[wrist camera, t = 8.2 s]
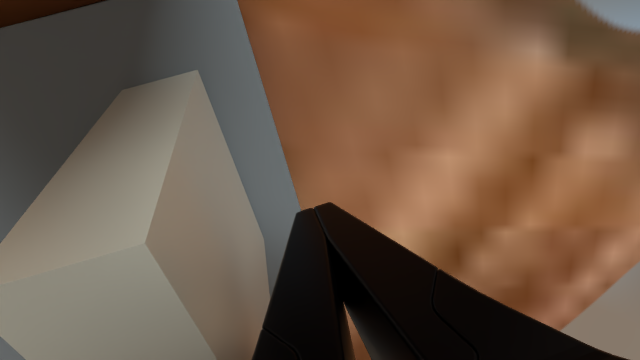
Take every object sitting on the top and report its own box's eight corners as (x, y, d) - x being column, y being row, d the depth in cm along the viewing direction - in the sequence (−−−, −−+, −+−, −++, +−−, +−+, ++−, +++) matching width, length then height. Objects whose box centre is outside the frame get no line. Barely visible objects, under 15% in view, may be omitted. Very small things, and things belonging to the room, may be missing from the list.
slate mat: (353, 382, 20) (355, 389, 19) (99, 474, 19) (97, 483, 18) (227, -32, 9) (227, -31, 9) (-352, 119, 8) (-376, 126, 8)
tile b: (264, 239, 13) (287, 472, 7) (205, 256, 13) (182, 506, 7) (197, 69, 10) (144, 243, 4) (120, 90, 10) (-47, 298, 4)
